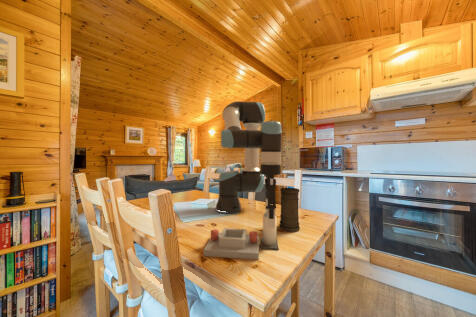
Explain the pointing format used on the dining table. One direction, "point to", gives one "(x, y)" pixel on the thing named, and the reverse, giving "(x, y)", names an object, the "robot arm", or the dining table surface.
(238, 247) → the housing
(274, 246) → the mat
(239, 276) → the dining table surface
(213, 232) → the plunger
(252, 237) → the plunger
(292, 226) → the container
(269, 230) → the cylinder
